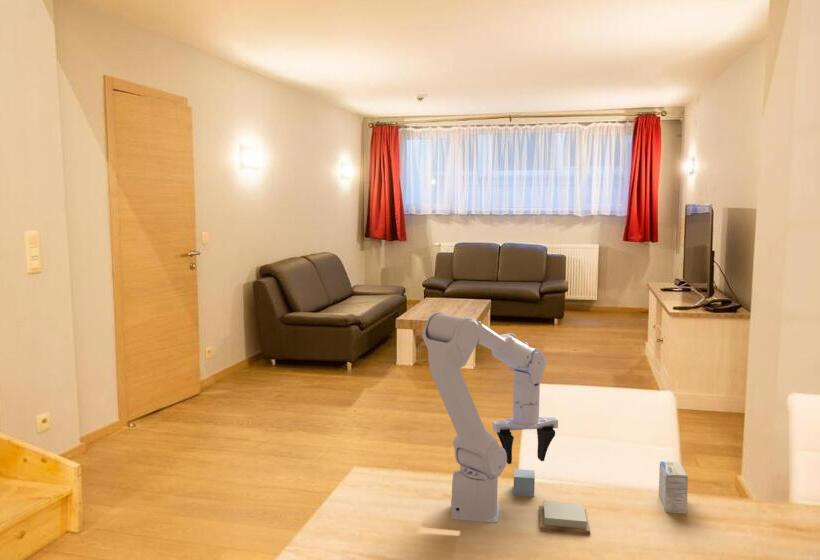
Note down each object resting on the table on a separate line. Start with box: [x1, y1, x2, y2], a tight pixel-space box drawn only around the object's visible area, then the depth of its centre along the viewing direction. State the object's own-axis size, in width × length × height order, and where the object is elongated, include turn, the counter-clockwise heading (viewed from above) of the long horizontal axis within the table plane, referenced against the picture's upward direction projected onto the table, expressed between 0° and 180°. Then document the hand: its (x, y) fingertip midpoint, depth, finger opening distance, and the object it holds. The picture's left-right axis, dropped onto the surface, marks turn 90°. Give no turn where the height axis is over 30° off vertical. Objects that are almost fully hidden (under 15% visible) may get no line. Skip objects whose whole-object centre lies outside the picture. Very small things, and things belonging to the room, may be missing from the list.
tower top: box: [543, 499, 587, 529], centre depth 134 cm, size 8×8×2 cm
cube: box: [512, 468, 536, 498], centre depth 147 cm, size 4×4×4 cm
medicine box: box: [658, 460, 689, 514], centre depth 140 cm, size 8×4×9 cm, turn 168°
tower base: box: [538, 505, 591, 536], centre depth 134 cm, size 10×10×2 cm
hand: (524, 460), depth 147 cm, fingers open, 7 cm apart
